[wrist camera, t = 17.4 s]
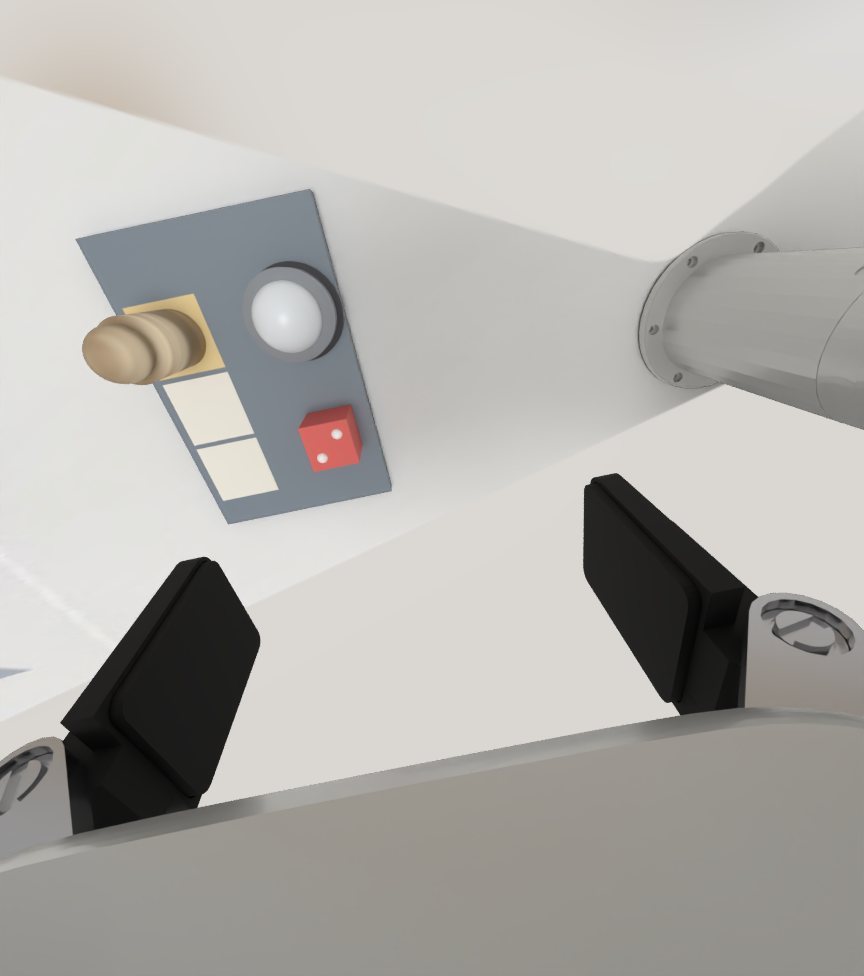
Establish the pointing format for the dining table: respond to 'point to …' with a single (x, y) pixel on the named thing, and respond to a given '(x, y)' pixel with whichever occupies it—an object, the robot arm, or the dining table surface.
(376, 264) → the dining table surface
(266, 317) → the dome
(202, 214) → the board
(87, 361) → the pawn
